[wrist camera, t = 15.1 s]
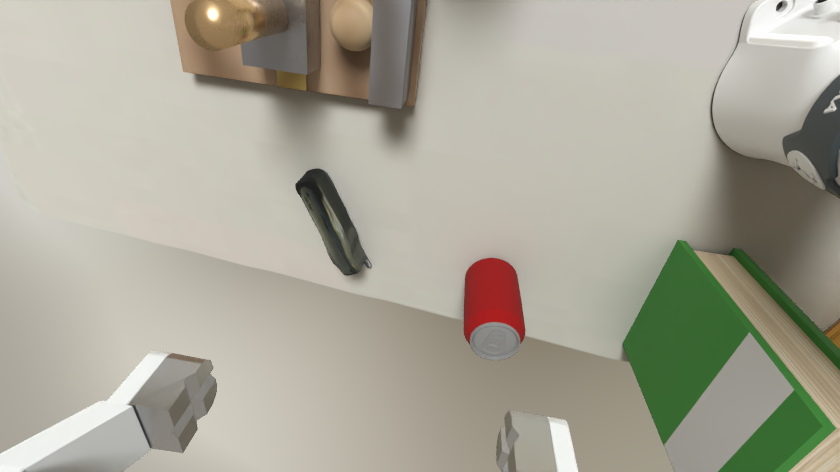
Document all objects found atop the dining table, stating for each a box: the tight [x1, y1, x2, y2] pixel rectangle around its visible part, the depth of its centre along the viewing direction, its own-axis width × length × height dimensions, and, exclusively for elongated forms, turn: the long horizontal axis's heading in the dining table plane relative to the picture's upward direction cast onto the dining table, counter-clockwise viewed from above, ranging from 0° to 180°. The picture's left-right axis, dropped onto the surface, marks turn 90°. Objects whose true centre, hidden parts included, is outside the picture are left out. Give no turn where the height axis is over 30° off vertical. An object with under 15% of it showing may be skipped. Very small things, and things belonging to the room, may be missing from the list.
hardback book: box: [623, 240, 840, 472], centre depth 43 cm, size 18×7×24 cm, turn 174°
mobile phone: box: [296, 169, 371, 275], centre depth 50 cm, size 5×3×15 cm
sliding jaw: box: [185, 0, 320, 75], centre depth 32 cm, size 6×9×14 cm, turn 173°
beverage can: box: [464, 258, 525, 360], centre depth 49 cm, size 7×7×12 cm
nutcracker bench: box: [170, 0, 427, 109], centre depth 37 cm, size 24×14×7 cm, turn 83°
